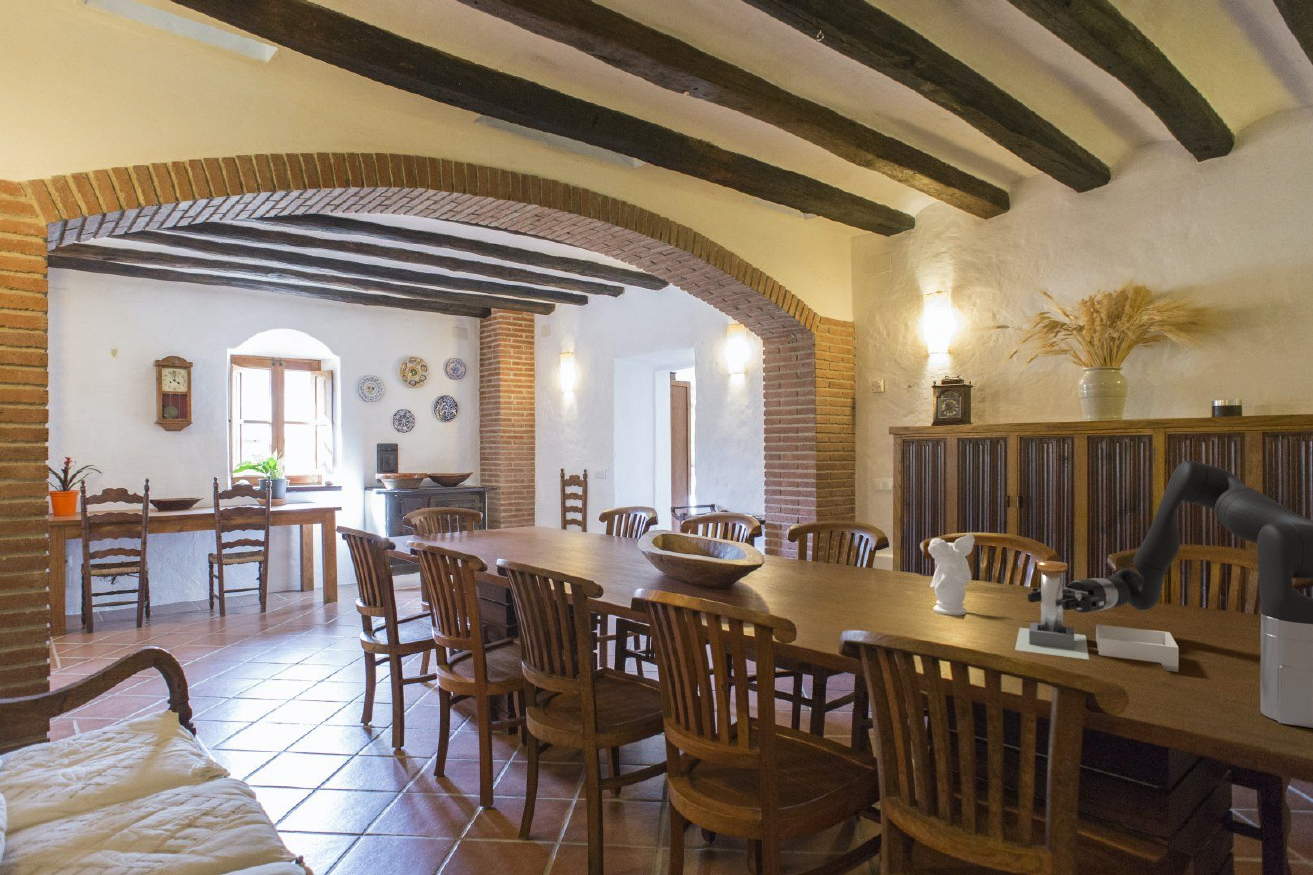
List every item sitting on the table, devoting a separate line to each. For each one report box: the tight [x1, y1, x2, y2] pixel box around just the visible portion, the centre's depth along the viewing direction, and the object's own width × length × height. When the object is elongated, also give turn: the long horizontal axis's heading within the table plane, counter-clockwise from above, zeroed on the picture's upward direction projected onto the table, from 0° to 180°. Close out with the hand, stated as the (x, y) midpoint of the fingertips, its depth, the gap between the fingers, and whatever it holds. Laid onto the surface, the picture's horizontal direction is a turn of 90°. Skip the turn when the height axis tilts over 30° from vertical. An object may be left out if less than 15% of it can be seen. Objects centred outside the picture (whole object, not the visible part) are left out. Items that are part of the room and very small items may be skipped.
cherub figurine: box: [927, 532, 976, 616], centre depth 206 cm, size 12×12×22 cm
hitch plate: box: [1014, 622, 1090, 660], centre depth 168 cm, size 22×14×4 cm, turn 151°
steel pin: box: [1036, 560, 1068, 633], centre depth 168 cm, size 6×6×18 cm
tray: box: [1095, 623, 1180, 673], centre depth 161 cm, size 14×14×5 cm
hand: (1046, 601), depth 167 cm, fingers open, 8 cm apart
